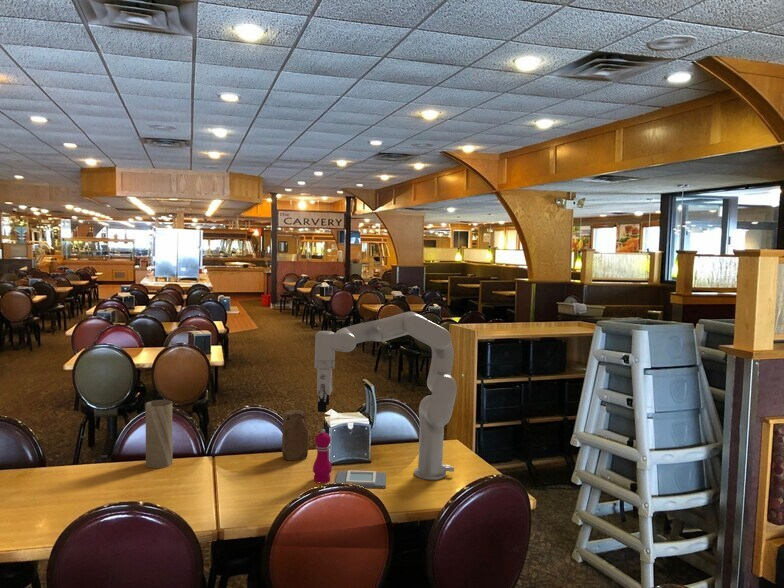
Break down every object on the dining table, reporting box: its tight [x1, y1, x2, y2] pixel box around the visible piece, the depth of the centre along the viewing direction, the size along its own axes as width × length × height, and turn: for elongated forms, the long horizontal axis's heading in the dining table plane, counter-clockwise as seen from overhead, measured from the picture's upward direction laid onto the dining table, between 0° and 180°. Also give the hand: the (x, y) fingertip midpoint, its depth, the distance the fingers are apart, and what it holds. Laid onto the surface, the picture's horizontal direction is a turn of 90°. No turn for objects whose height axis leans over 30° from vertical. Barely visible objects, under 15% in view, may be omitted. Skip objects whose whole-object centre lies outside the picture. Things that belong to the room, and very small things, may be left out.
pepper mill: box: [312, 428, 333, 484], centre depth 236 cm, size 7×7×20 cm
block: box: [281, 409, 309, 462], centre depth 259 cm, size 11×8×20 cm
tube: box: [145, 399, 173, 470], centre depth 248 cm, size 10×10×25 cm
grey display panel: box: [334, 470, 387, 489], centre depth 238 cm, size 19×13×2 cm
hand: (323, 408), depth 235 cm, fingers open, 9 cm apart
